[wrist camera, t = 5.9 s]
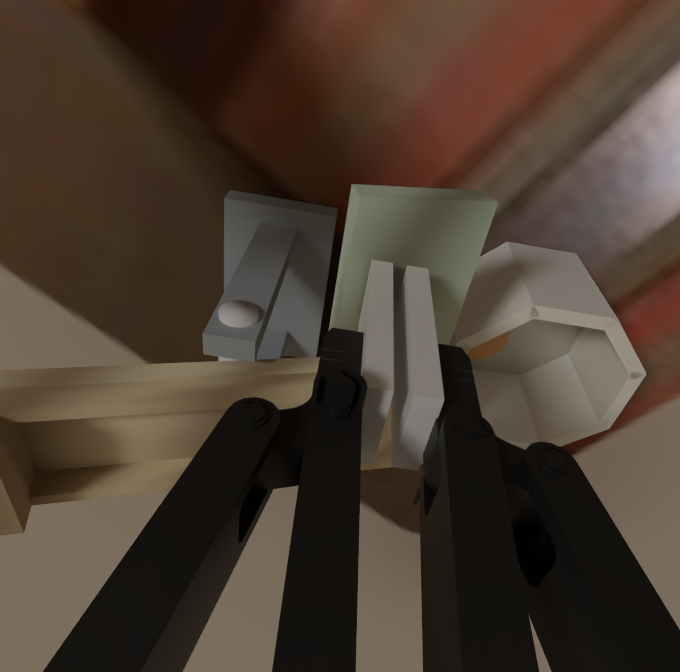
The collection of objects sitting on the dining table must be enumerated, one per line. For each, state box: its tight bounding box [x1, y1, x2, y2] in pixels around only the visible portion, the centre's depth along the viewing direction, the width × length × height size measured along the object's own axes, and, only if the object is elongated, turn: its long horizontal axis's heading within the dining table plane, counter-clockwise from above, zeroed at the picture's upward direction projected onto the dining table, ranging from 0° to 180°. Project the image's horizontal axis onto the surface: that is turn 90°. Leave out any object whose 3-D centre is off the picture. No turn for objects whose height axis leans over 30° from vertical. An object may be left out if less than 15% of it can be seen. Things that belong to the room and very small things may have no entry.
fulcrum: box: [203, 190, 338, 362], centre depth 26 cm, size 6×10×12 cm, turn 172°
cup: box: [449, 242, 646, 450], centre depth 28 cm, size 9×9×6 cm
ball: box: [467, 331, 509, 359], centre depth 29 cm, size 3×3×3 cm
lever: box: [0, 184, 498, 535], centre depth 18 cm, size 18×12×3 cm
